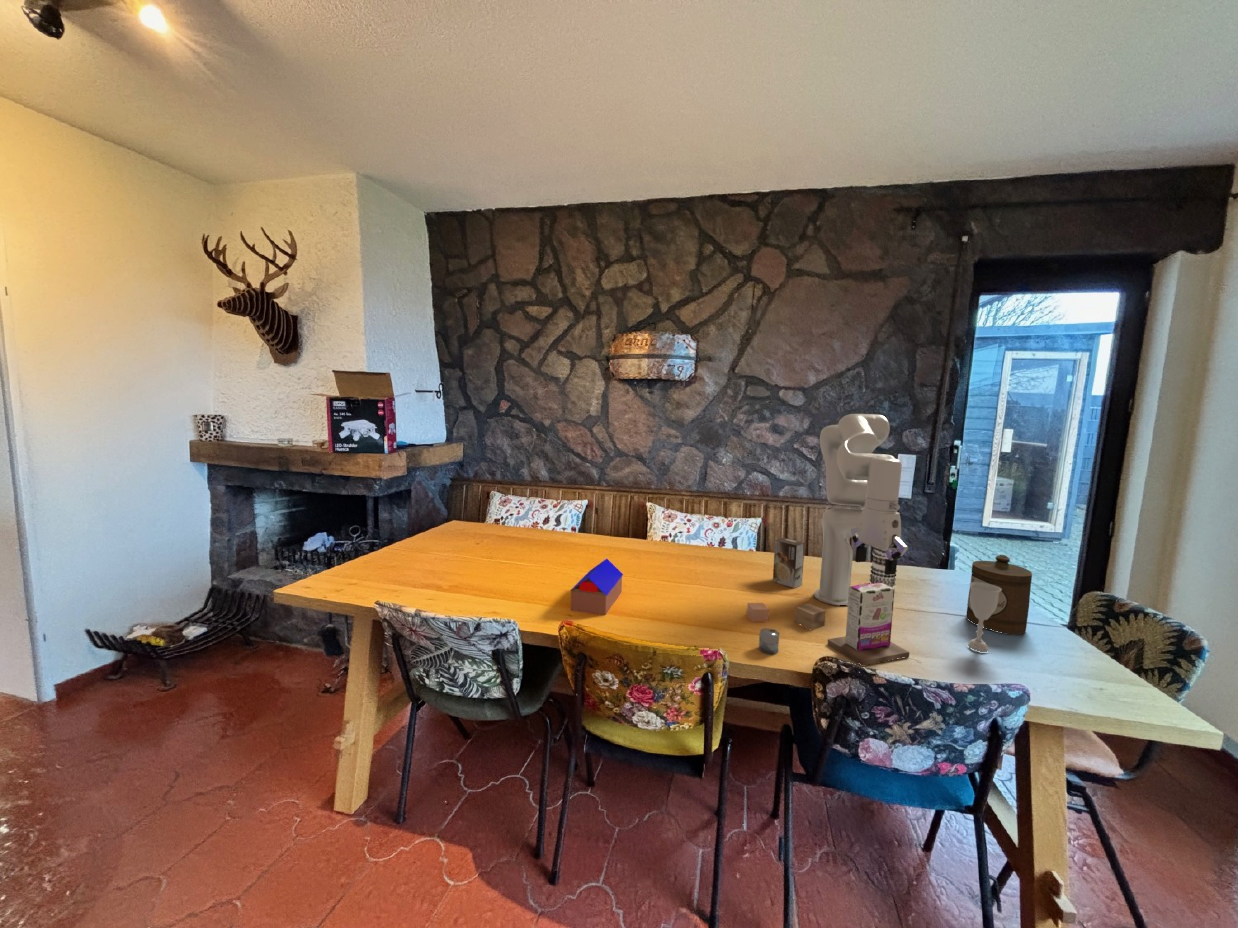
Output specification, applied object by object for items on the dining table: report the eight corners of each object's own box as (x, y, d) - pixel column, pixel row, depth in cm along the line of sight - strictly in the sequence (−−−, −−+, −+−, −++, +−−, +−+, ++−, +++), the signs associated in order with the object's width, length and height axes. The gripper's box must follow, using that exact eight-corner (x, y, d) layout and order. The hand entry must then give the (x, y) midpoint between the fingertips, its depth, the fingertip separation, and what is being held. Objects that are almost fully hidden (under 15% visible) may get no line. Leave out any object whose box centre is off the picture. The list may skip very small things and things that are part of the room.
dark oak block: (807, 618, 153) (808, 603, 152) (824, 626, 148) (825, 610, 147) (794, 622, 150) (795, 607, 149) (811, 630, 145) (812, 614, 144)
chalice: (981, 643, 140) (988, 582, 137) (1000, 655, 133) (1008, 591, 131) (955, 642, 139) (963, 581, 137) (973, 655, 133) (981, 591, 130)
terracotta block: (762, 614, 155) (763, 602, 154) (768, 621, 150) (769, 609, 149) (746, 614, 154) (747, 602, 154) (752, 622, 150) (752, 609, 149)
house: (622, 592, 170) (623, 560, 168) (606, 616, 151) (607, 579, 149) (589, 588, 173) (590, 556, 172) (569, 611, 154) (569, 575, 152)
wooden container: (954, 614, 159) (962, 548, 157) (997, 613, 160) (1006, 548, 158) (992, 635, 145) (1001, 563, 142) (1039, 635, 146) (1049, 563, 143)
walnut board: (872, 636, 142) (872, 631, 141) (908, 657, 130) (909, 651, 130) (827, 644, 136) (827, 639, 136) (861, 666, 125) (862, 660, 125)
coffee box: (803, 584, 182) (806, 542, 180) (794, 588, 178) (797, 545, 176) (780, 577, 189) (783, 537, 187) (771, 581, 184) (774, 539, 182)
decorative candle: (871, 589, 179) (878, 522, 176) (865, 580, 188) (871, 516, 185) (899, 592, 177) (906, 524, 174) (891, 583, 186) (898, 518, 183)
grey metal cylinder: (770, 644, 135) (771, 627, 135) (782, 653, 131) (783, 635, 130) (754, 646, 134) (756, 629, 133) (766, 655, 129) (767, 637, 129)
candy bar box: (875, 638, 138) (881, 581, 136) (890, 646, 133) (896, 588, 131) (843, 642, 134) (848, 585, 132) (857, 651, 129) (862, 592, 127)
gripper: (921, 511, 122) (914, 577, 124) (865, 497, 138) (860, 556, 140) (898, 513, 119) (891, 580, 122) (844, 498, 135) (839, 558, 138)
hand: (874, 567), depth 131 cm, fingers open, 9 cm apart
